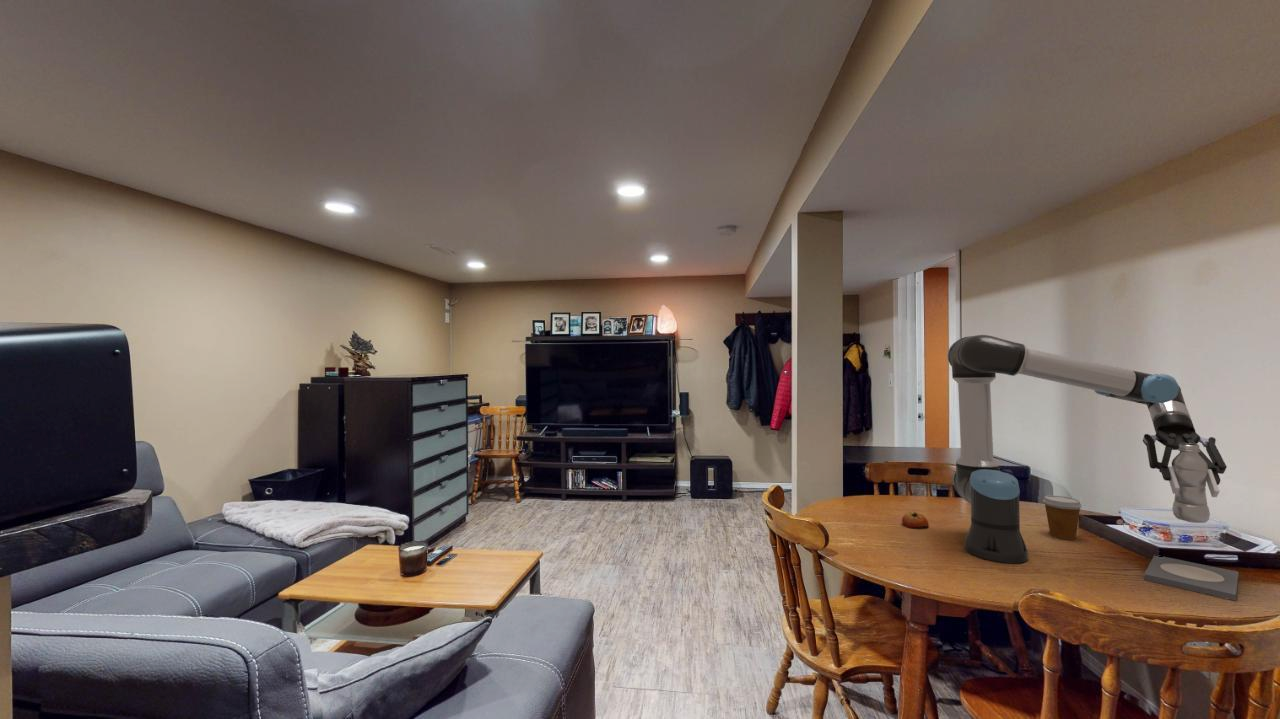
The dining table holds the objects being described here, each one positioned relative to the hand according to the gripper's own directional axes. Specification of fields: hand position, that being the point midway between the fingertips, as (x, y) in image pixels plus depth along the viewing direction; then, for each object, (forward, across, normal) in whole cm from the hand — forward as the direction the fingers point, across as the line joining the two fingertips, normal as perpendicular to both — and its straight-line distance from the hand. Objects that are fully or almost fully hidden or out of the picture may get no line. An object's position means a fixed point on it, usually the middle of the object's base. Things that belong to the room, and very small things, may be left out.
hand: (1195, 492), depth 124 cm
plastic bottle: (+4, 0, -9) cm, 9 cm away
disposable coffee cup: (-2, +23, -35) cm, 42 cm away
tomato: (+7, +64, -26) cm, 69 cm away
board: (+14, 0, -19) cm, 23 cm away
